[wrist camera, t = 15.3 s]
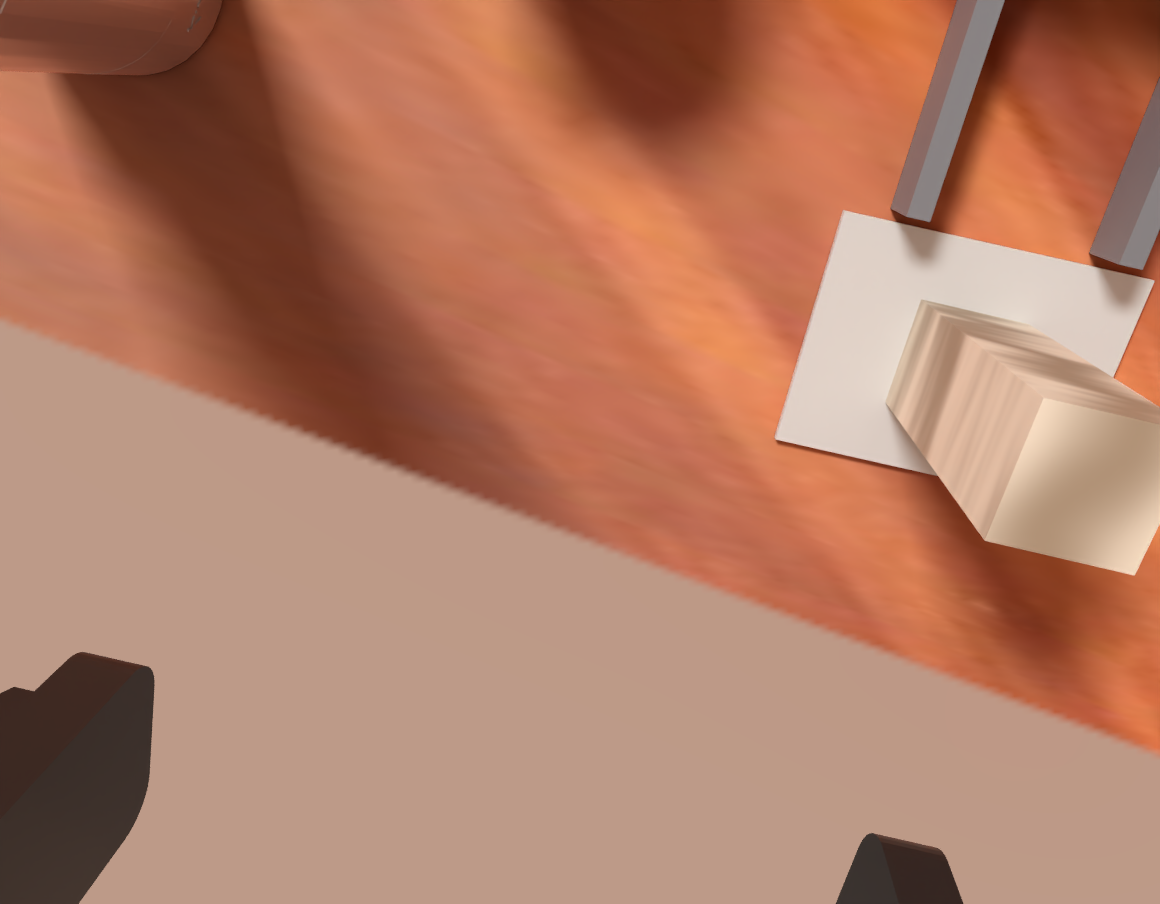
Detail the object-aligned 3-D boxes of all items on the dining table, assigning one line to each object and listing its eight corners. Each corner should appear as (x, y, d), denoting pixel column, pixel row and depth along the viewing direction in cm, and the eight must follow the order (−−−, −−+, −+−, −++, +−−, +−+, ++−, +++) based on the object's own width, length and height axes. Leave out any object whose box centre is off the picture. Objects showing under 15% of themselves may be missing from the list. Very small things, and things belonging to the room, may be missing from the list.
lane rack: (824, 193, 43) (869, 222, 33) (952, -242, 37) (1050, -357, 27) (1177, 273, 42) (1321, 323, 33) (1362, -151, 37) (1602, -234, 27)
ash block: (885, 401, 45) (984, 540, 31) (921, 299, 43) (1043, 397, 29) (988, 425, 45) (1134, 575, 31) (1028, 324, 43) (1202, 434, 29)
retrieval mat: (774, 436, 47) (775, 439, 46) (843, 209, 43) (844, 211, 42) (1055, 500, 47) (1058, 503, 46) (1150, 279, 43) (1154, 280, 42)
